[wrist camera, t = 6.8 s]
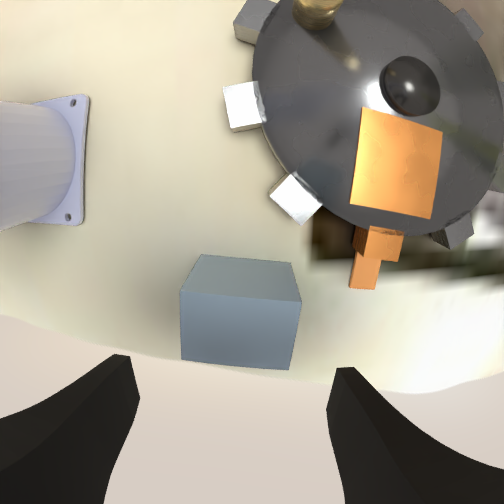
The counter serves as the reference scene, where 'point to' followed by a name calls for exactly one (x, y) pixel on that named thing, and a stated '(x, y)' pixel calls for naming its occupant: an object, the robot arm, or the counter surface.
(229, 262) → the link block
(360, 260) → the timing pointer
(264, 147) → the counter surface
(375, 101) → the sprocket
